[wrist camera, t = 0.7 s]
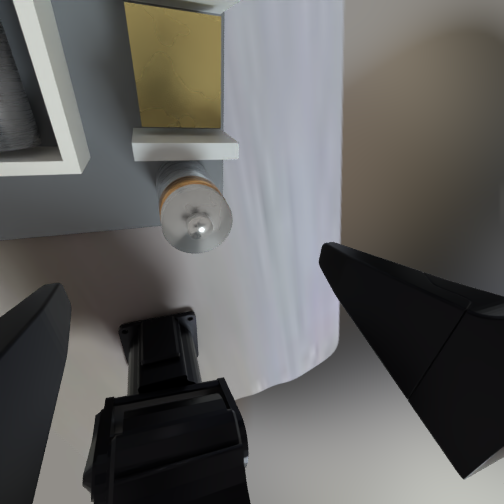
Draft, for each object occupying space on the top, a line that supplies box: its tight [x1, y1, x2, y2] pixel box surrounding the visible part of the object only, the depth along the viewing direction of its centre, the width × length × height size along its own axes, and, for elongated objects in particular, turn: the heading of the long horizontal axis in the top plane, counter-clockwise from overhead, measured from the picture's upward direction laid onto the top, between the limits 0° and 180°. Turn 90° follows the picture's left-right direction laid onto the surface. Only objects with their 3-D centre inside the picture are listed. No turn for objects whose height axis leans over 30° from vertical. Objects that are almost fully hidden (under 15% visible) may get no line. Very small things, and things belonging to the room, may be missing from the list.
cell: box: [156, 160, 232, 253], centre depth 15 cm, size 3×3×6 cm
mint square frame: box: [0, 0, 241, 240], centre depth 11 cm, size 19×14×5 cm
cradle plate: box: [124, 2, 221, 128], centre depth 13 cm, size 5×4×1 cm
